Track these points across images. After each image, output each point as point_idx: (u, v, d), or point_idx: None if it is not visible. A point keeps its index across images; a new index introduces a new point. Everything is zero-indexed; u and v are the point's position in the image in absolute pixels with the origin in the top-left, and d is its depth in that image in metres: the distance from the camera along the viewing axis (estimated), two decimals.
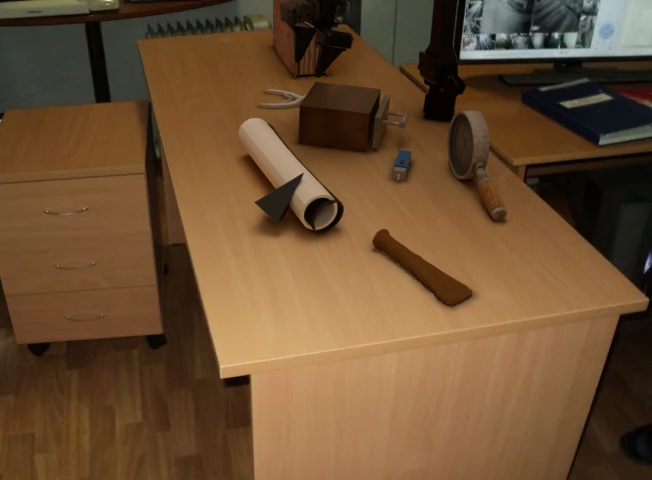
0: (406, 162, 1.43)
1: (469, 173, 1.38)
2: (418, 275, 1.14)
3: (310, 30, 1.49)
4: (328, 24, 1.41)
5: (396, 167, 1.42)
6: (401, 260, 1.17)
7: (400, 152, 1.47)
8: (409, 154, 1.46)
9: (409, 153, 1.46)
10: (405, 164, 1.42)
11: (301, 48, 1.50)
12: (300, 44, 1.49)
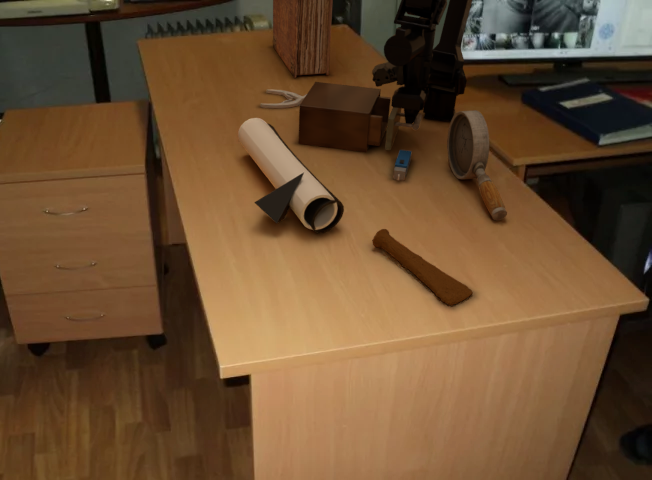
0: (406, 162, 1.43)
1: (469, 173, 1.38)
2: (418, 275, 1.14)
3: None
4: (415, 85, 1.46)
5: (396, 167, 1.42)
6: (401, 260, 1.17)
7: (400, 152, 1.47)
8: (409, 154, 1.46)
9: (409, 153, 1.46)
10: (405, 164, 1.42)
11: None
12: None
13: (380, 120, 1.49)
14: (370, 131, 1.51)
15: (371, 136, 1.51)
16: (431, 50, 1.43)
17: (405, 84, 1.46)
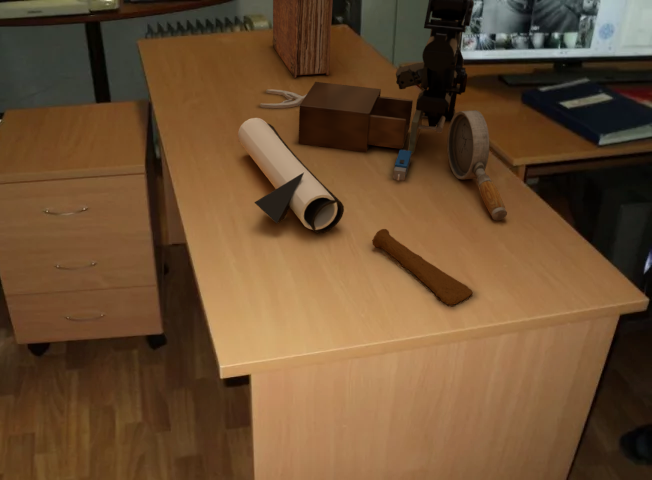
0: (406, 162, 1.43)
1: (469, 173, 1.38)
2: (418, 275, 1.14)
3: None
4: (439, 87, 1.45)
5: (396, 167, 1.42)
6: (401, 260, 1.17)
7: (400, 152, 1.47)
8: (409, 154, 1.46)
9: (409, 153, 1.46)
10: (405, 164, 1.42)
11: None
12: None
13: (403, 123, 1.48)
14: (393, 134, 1.50)
15: (394, 139, 1.50)
16: (457, 51, 1.42)
17: (429, 87, 1.45)
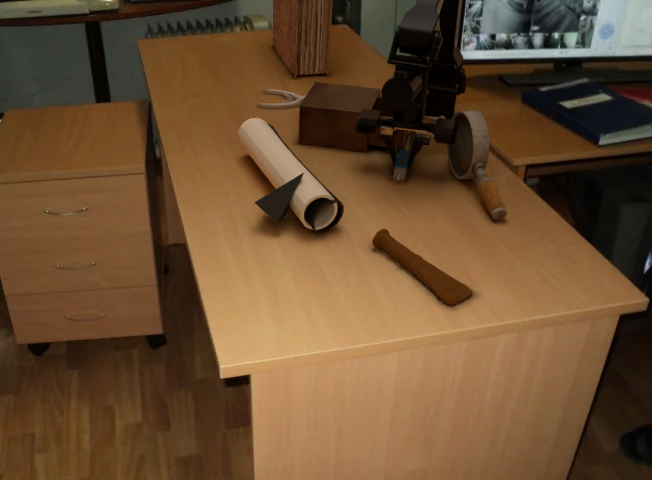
0: (406, 162, 1.43)
1: (469, 173, 1.38)
2: (418, 275, 1.14)
3: (414, 140, 1.39)
4: (392, 119, 1.39)
5: (396, 167, 1.42)
6: (401, 260, 1.17)
7: (400, 152, 1.47)
8: (409, 154, 1.46)
9: (409, 153, 1.46)
10: (405, 164, 1.42)
11: None
12: None
13: None
14: None
15: None
16: (426, 89, 1.34)
17: None
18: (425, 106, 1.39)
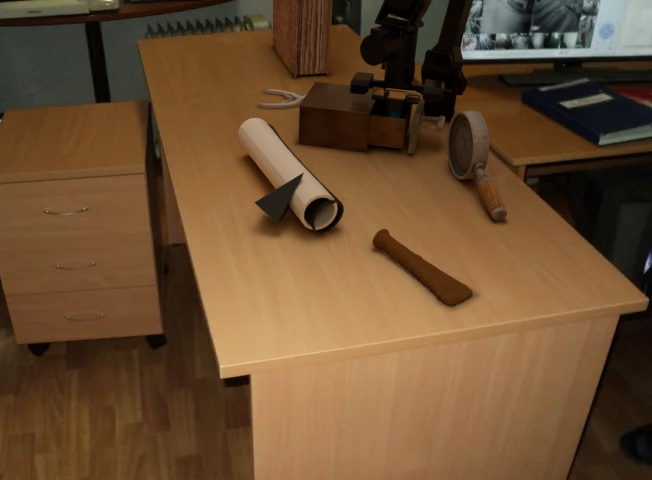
0: None
1: (469, 173, 1.38)
2: (418, 275, 1.14)
3: (404, 100, 1.49)
4: (384, 80, 1.49)
5: None
6: (401, 260, 1.17)
7: (391, 113, 1.57)
8: None
9: None
10: None
11: None
12: None
13: (403, 123, 1.48)
14: (393, 134, 1.50)
15: (394, 139, 1.50)
16: (413, 52, 1.43)
17: None
18: (414, 68, 1.49)
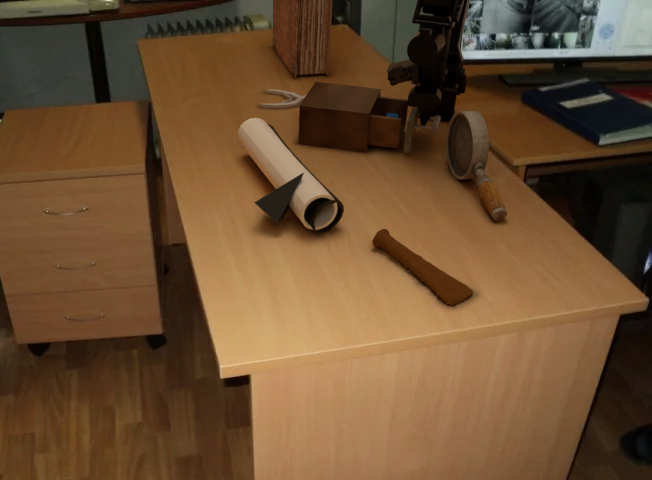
0: None
1: (468, 173, 1.38)
2: (418, 275, 1.14)
3: None
4: (430, 83, 1.45)
5: None
6: (401, 260, 1.17)
7: (388, 114, 1.57)
8: (396, 116, 1.56)
9: (396, 115, 1.57)
10: None
11: None
12: None
13: (399, 122, 1.48)
14: (389, 133, 1.50)
15: (390, 138, 1.50)
16: (447, 48, 1.42)
17: (420, 83, 1.45)
18: None
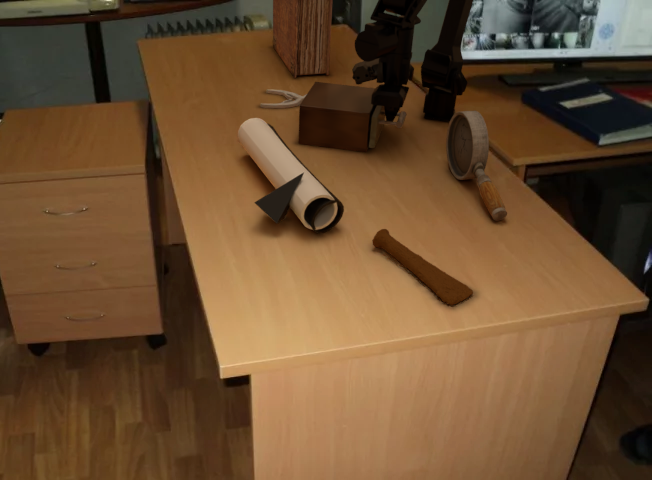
0: None
1: (468, 173, 1.38)
2: (418, 275, 1.14)
3: None
4: (394, 82, 1.46)
5: None
6: (401, 260, 1.17)
7: None
8: None
9: None
10: None
11: None
12: None
13: None
14: None
15: None
16: (408, 48, 1.43)
17: (385, 82, 1.47)
18: None
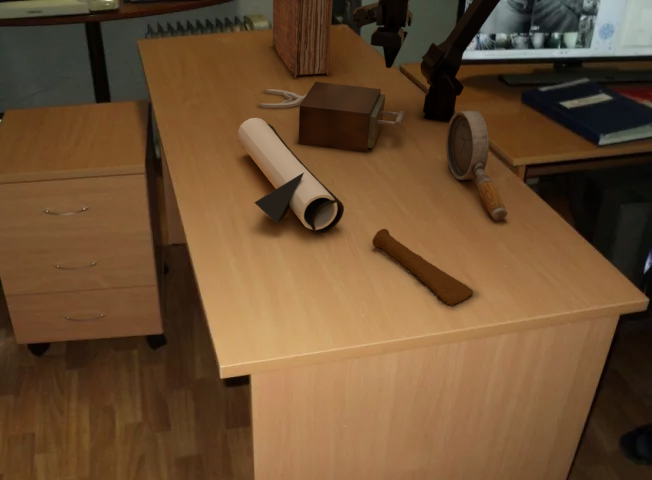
0: None
1: (468, 173, 1.38)
2: (418, 275, 1.14)
3: None
4: (393, 25, 1.51)
5: None
6: (401, 260, 1.17)
7: None
8: None
9: None
10: None
11: None
12: None
13: None
14: None
15: None
16: None
17: (384, 25, 1.52)
18: None
